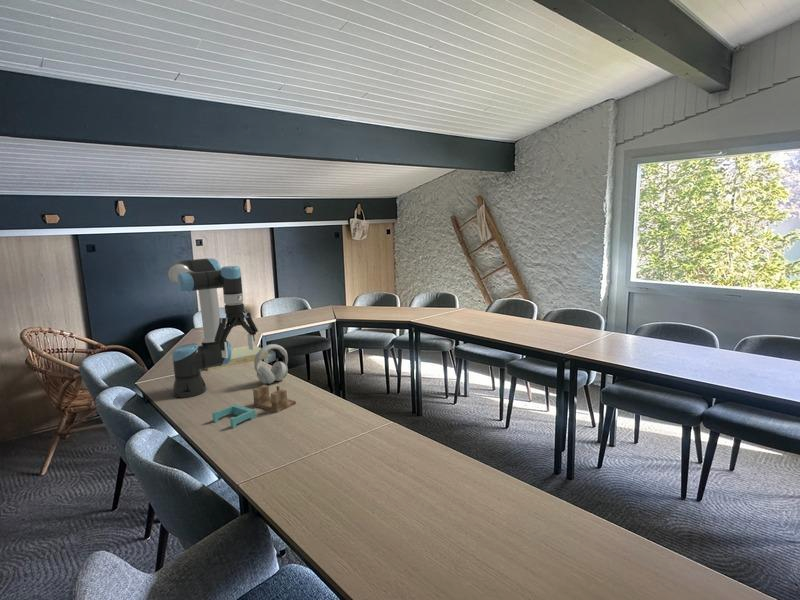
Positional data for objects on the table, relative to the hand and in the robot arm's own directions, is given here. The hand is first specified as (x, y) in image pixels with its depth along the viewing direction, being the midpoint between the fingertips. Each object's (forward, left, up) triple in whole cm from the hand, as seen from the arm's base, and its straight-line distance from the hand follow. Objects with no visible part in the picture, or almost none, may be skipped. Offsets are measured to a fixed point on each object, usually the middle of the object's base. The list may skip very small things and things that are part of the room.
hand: (238, 353), depth 195 cm
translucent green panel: (-74, +52, -28) cm, 95 cm away
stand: (+3, +14, -27) cm, 31 cm away
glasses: (0, -5, -27) cm, 28 cm away
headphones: (-21, +35, -28) cm, 49 cm away
